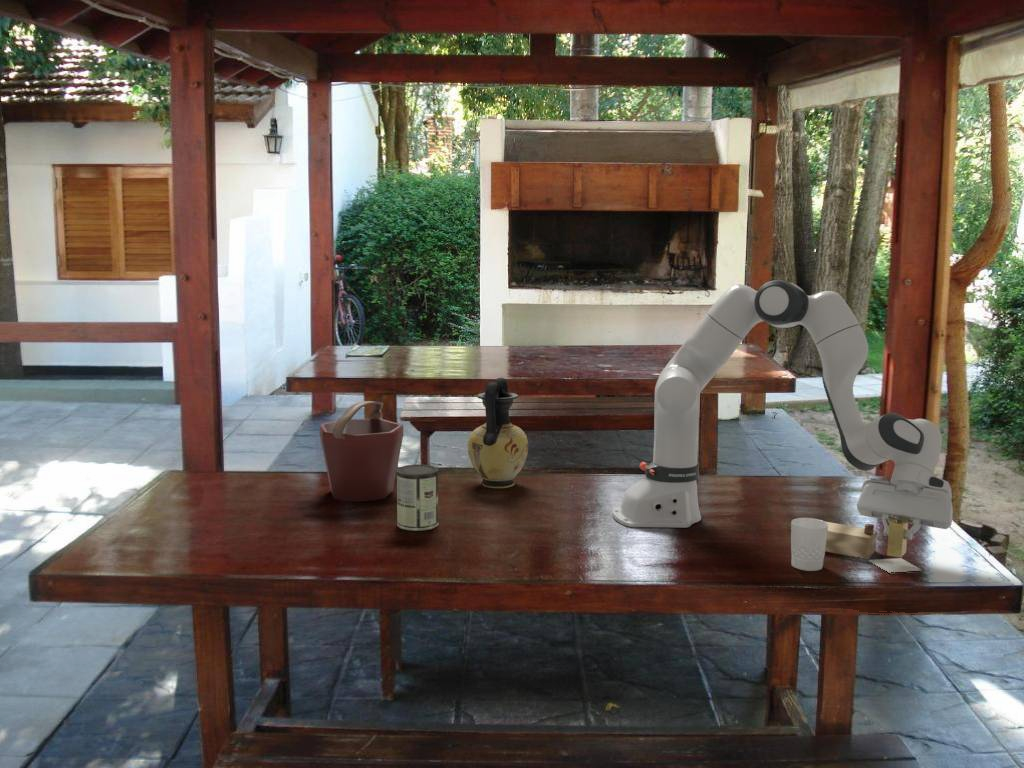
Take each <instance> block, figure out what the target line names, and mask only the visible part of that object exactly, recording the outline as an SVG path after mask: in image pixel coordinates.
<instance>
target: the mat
mask: <svg viewBox="0 0 1024 768" xmlns="http://www.w3.org/2000/svg"><path fill="white" fill-rule="evenodd" d="M868 560H869V561H870V562H869V563H871V562H872V563H873V564H872V563H871V564H872V565H874V564H875V565H876V567H877V566H878V567H877V568H879V567H880V568H881V570H882V569H883V570H885V571H887V572H888V573H890V574H892V573H891V572H894V573H893V574H896V573H895V572H907V571H919V570H922V569H921V568H919V567H917V565H914V564H913V563H910V562H909V561H907V560H905V559H903V557H896V558H882V559H881V558H879V559H868ZM875 565H874V566H875ZM880 568H879V569H880ZM883 570H882V571H883ZM885 571H884V572H885ZM887 572H886V573H887ZM888 573H887V574H888ZM907 573H908V572H907Z"/></svg>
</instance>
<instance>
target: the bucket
mask: <svg viewBox="0 0 1024 768" xmlns="http://www.w3.org/2000/svg"><path fill="white" fill-rule="evenodd" d="M369 405H371V407H370V409H369V412H370V414H369V418H353V417H354V416H355V415H356V414H357V413H358V412H359V410H361V409H362V408H364V407H366V406H369ZM383 406H384V402H381V401H372V400H371V401H370V400H367V401H366V400H365V401H359V402H356V403H354V404H352V405H350V406H349V407H348V408H347V409H346V410H345V412H343V413H342V415H341V416H340V417H339V418H337V420H334V421H330V422H329V421H328V422H324V423H320V424H318V425H319V438H320V444H321V448H322V453H323V459H324V463H325V468H326V473H327V478H328V484H329V488H330V492H331V494H332V497H333V499H334V500H342V501H349V502H356V503H359V502H369V501H376V500H383V499H386V498H387V497H388V496H389V495H390V494H392V492H394V491H393V490H394V486H395V481H396V480H395V479H396V477H397V473H396V470H397V468H398V465H399V461H400V455H401V450H402V446H403V445H402V444H403V439H404V424H402V423H398V422H395V421H391V420H389V419H383V412H382V408H383Z"/></svg>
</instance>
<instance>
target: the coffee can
mask: <svg viewBox="0 0 1024 768" xmlns="http://www.w3.org/2000/svg"><path fill="white" fill-rule="evenodd" d="M396 497H397V498H396V509H397V510H396V513H397V519H396V520H397V524H396V527H397V528H399V529H402V530H404V531H405V530H406V531H417V532H418V531H423V532H424V531H427V530H428V531H429V530H432V529H435V528H437V527H439V468H438V467H437V466H434V465H429V464H408V465H403V466H400V467H397V470H396Z"/></svg>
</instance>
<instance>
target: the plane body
mask: <svg viewBox="0 0 1024 768" xmlns="http://www.w3.org/2000/svg"><path fill="white" fill-rule="evenodd" d="M825 522H826V523H828V532H827V541H826V549H825V553H826V552H827V553H832V554H838V555H841V556H842V555H843V556H848V557H853V556H854V558H858V557H860V558H859V559H863V558H865V559H864V560H869V558H870V557H872V555H873V554H874V553H876V551H877V550H876V549H877V539H878V538H877V536H878V530H876V529H875V525H874V524H871V523H865V524H864V527H860V526H853V525H847V524H843V523H842V524H841V523H836V522H835V523H834V522H830V521H825Z"/></svg>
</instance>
